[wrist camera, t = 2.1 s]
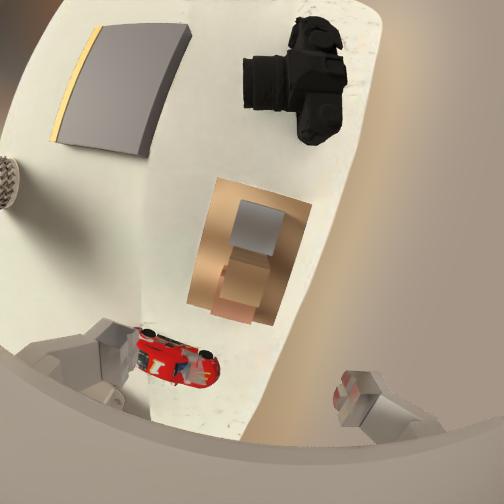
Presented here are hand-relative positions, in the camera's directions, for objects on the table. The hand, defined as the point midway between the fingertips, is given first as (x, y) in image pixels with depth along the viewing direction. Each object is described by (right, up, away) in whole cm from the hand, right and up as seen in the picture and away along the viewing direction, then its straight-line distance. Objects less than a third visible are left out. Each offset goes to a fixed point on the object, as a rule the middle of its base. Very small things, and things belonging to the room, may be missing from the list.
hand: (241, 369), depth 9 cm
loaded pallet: (0, +5, +21) cm, 22 cm away
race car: (-7, -9, +26) cm, 28 cm away
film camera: (+4, +23, +18) cm, 29 cm away
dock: (-16, +25, +17) cm, 34 cm away
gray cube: (+1, +7, +18) cm, 19 cm away
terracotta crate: (-1, +1, +20) cm, 20 cm away
